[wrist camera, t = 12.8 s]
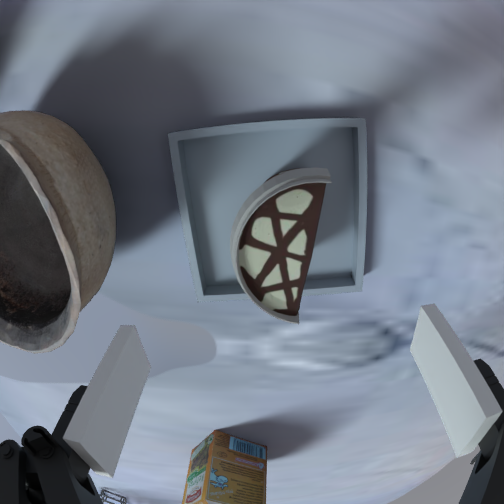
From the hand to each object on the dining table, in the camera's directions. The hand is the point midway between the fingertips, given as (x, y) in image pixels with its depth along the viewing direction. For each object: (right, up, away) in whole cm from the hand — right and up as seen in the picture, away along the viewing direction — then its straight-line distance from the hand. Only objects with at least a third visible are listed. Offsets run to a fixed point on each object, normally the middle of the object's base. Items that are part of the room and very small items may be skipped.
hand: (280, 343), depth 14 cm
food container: (0, +8, +18) cm, 19 cm away
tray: (+1, +8, +18) cm, 20 cm away
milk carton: (-6, -33, +38) cm, 51 cm away
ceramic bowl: (-23, +10, +18) cm, 31 cm away
